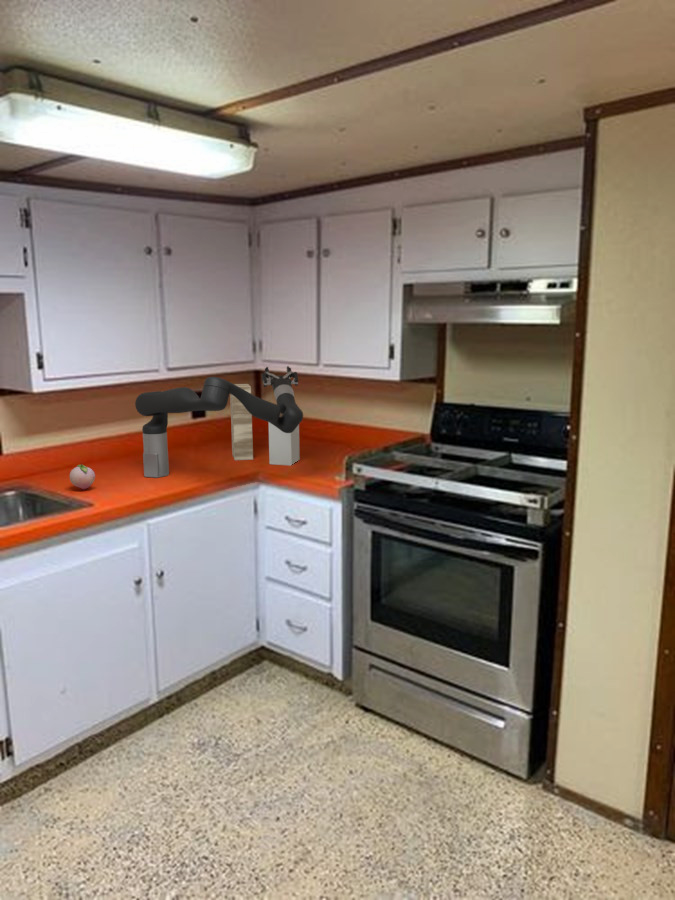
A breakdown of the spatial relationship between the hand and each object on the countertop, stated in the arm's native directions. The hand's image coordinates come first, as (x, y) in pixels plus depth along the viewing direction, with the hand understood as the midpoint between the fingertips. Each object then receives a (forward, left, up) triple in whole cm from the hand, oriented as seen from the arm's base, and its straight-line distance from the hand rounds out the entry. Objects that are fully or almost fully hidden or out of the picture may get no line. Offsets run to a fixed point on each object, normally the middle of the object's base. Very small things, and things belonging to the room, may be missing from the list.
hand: (277, 368), depth 279 cm
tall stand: (+13, +23, -41) cm, 49 cm away
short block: (+8, +1, -41) cm, 42 cm away
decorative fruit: (-55, +56, -41) cm, 88 cm away
